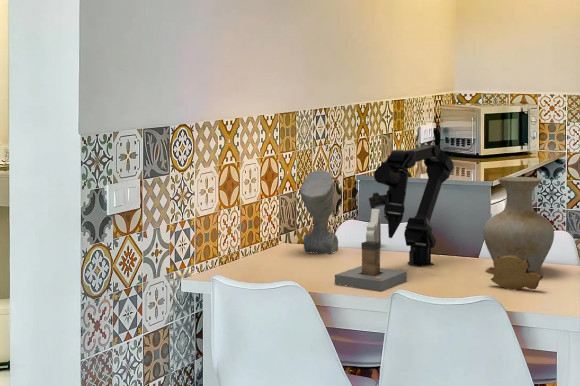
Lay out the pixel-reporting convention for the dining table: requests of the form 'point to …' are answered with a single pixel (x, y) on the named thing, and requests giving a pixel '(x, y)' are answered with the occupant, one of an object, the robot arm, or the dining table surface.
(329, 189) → the sculpture
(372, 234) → the decorative sign
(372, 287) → the socket
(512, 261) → the wooden carving
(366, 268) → the plug
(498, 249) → the vase
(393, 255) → the dining table surface
